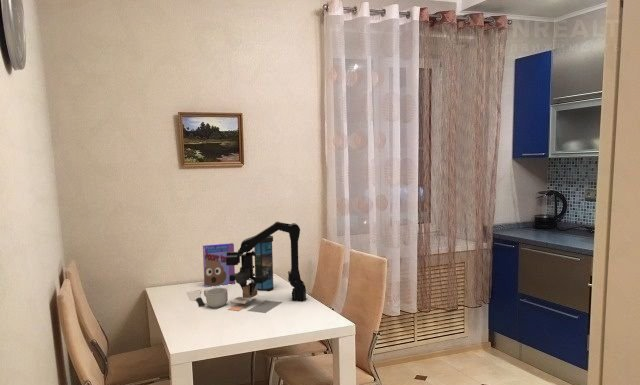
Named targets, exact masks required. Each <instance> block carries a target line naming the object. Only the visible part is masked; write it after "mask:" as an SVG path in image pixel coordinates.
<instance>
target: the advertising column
mask: <svg viewBox="0 0 640 385" xmlns="http://www.w3.org/2000/svg"><path fill="white" fill-rule="evenodd" d="M273 242H274V236H273V235H270V236H268V237H267V238H265V239H264V240H262V241H260V242H259V243H258V244H257V245H256V246H255V247H254V248H253V251H254V252H255V253H256V256H254V274H255V276H254V277H256V276H258V275H263V276H265V277H266V281H265V282H263V283H261V284H259V283H257V292H258V291H260V292H272V291H273V290H274V268H273V267H274V263H273V261H274V260H273V256H274V255H273Z"/></svg>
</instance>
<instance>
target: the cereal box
mask: <svg viewBox="0 0 640 385" xmlns="http://www.w3.org/2000/svg"><path fill="white" fill-rule="evenodd" d="M227 252H235V244H234V243H220V244H207V245H202V257H203V260H202V261H203V264H202V265H203V285H204V288H213V287H221V286H220V285H222V286H229V285H228V284H231V285H235V284H236V280H235V281H229V277H230V275H232V274H235V273H236V271H235V270H236V269H235V266H236V265H230V266H227V265H226V258H227ZM212 286H213V287H212Z"/></svg>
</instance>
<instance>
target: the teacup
mask: <svg viewBox="0 0 640 385" xmlns="http://www.w3.org/2000/svg"><path fill="white" fill-rule="evenodd" d="M203 296H204V297H205V301H206V304H207V305H208V306H209V307H210V308H212V309H215V308H216V309H218V308H221V307H224V306H225V305H226V304H227V303H228V299H229V297H228V288H226V287H211V288H206V289H205V290H204V291H203Z"/></svg>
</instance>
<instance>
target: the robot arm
mask: <svg viewBox="0 0 640 385" xmlns="http://www.w3.org/2000/svg"><path fill="white" fill-rule="evenodd" d="M277 231H281V232H284V233H288V234H289V240H290V270H289V271H287V274H288V277H287V280H288V283H289V284H290V286H291V287H293V288H292V290H291V302H304V301H306V300H307V288H306V284H305V282H304V281H303V279H302V278H301V274H300V270H299V241H300V240H299V239H300V234H301V228H300V226H299V225H298V223H296V222H293V223H286V222H280V221H275V222H274V223H273V224H272V225H270V226H268V227H267V228H265V229H263V230H262V231H260V232H259V233H257V234H255V235H253V236H250V237H248V238H245V239H243V240H242V241H241V243H240V247H239V249H237V251H234V252H227V258H226V265H227V266H230V265H235V266H239V264H241V266H240V267H239V271H238V272H237V273H236V272H235V274H232V275H230V277H229V281H235V284H238V285H239V286H240V287H241V290H242V291H243V288H242V287H243V286H246V285H248V284H249V285H250V295H252V294H253V291H254V289H255V286H256V285H257V283H259V284H261V283H263V282H265V281H266V277H265V276H263V275H258V276H256V277H255V273H254V269H255V265H254V260H253V258H254V257H255V256H256V253H255V252H254V247H255V246H256V245H257V244H258V243H259V242H260V241H262V240H264V239H265V238H267V237H268V236H272V235H273V234H274V233H276V232H277ZM248 281H250V282H248Z"/></svg>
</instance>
